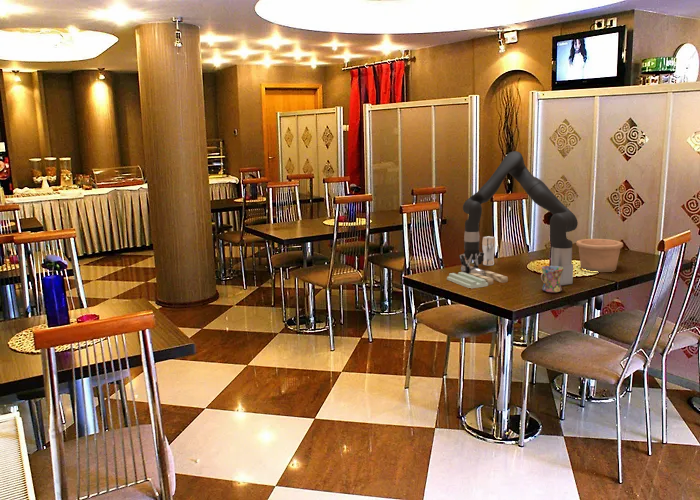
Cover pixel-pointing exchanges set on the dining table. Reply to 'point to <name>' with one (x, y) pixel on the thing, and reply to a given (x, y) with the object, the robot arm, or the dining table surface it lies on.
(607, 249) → the pottery
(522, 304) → the dining table surface
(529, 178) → the robot arm
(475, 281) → the grooved block
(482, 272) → the axle
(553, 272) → the mug
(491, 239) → the beer glass
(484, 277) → the wooden blocks
